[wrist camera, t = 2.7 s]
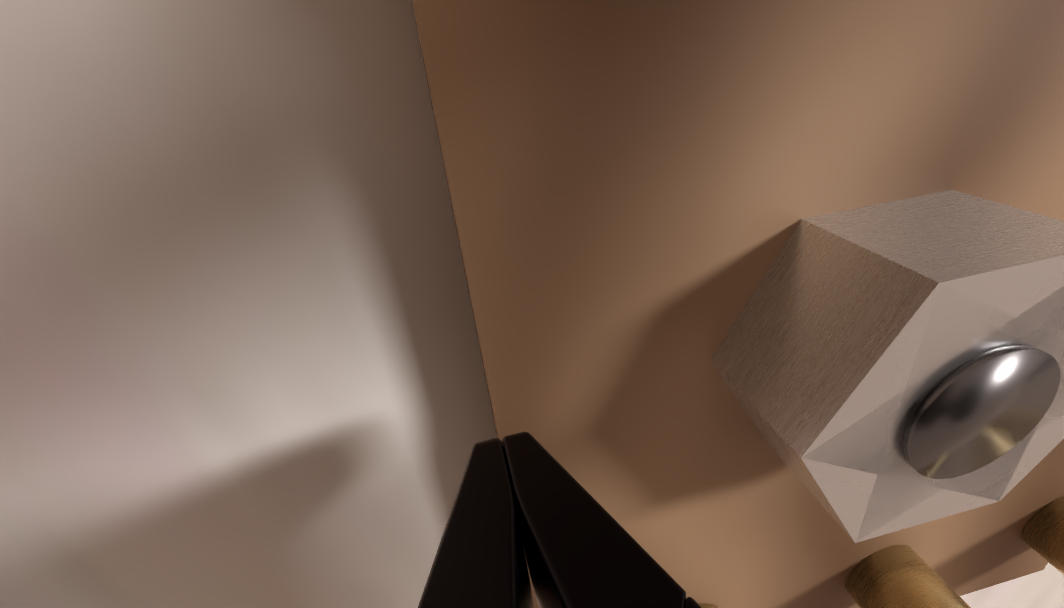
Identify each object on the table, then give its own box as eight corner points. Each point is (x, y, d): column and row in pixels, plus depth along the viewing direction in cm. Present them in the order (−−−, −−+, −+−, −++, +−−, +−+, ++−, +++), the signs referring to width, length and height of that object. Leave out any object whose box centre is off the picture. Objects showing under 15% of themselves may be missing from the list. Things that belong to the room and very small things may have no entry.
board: (2030, -679, 7) (2309, -802, 6) (1165, 490, 19) (1209, 517, 18) (244, -847, 4) (184, -1167, 3) (544, 678, 16) (553, 723, 15)
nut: (1022, 175, 9) (1238, 224, 6) (940, 396, 11) (1077, 488, 9) (720, 234, 8) (841, 311, 6) (702, 456, 10) (783, 573, 8)
